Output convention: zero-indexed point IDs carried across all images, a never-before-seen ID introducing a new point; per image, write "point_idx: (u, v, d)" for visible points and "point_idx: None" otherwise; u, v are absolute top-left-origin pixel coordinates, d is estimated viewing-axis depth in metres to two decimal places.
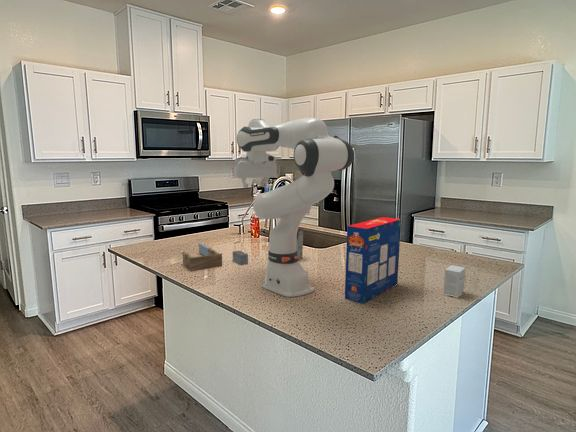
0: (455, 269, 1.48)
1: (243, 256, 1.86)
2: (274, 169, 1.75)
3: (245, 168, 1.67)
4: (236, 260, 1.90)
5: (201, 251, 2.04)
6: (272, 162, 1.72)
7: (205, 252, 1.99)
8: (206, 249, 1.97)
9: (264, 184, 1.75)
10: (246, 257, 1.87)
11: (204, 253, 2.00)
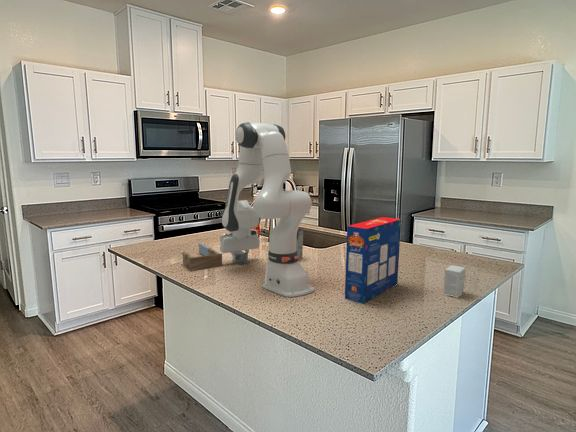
0: (455, 269, 1.48)
1: (243, 256, 1.86)
2: (257, 241, 1.92)
3: (230, 244, 1.85)
4: (236, 260, 1.90)
5: (201, 251, 2.04)
6: (255, 236, 1.90)
7: (205, 252, 1.99)
8: (206, 249, 1.97)
9: None
10: (246, 257, 1.87)
11: (204, 253, 2.00)
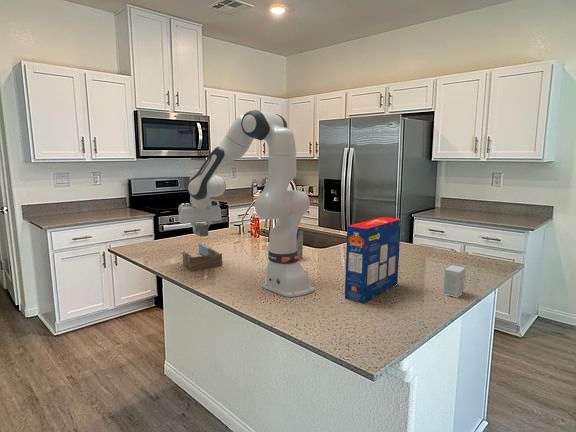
0: (455, 269, 1.48)
1: (203, 227, 1.79)
2: (219, 213, 1.85)
3: (189, 214, 1.77)
4: None
5: (201, 251, 2.04)
6: (216, 207, 1.83)
7: (205, 252, 1.99)
8: (206, 249, 1.97)
9: None
10: (206, 228, 1.80)
11: (204, 253, 2.00)
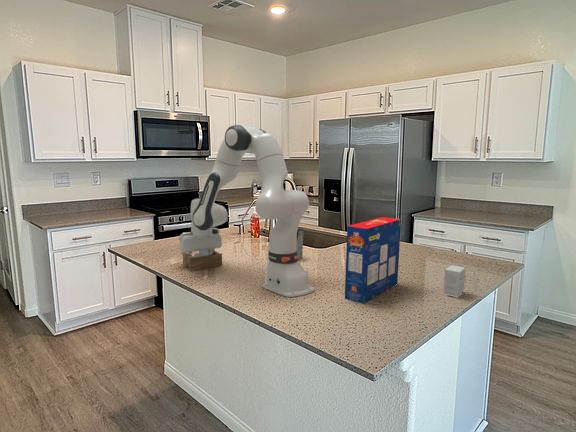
0: (455, 269, 1.48)
1: None
2: (219, 241, 1.87)
3: (190, 243, 1.79)
4: None
5: (201, 251, 2.04)
6: (216, 235, 1.85)
7: (205, 252, 1.99)
8: None
9: None
10: None
11: (204, 253, 2.00)
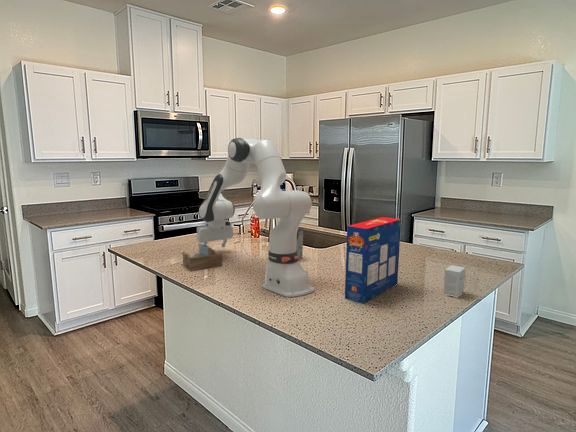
0: (455, 269, 1.48)
1: None
2: (231, 232, 2.08)
3: (206, 234, 1.99)
4: None
5: (201, 251, 2.04)
6: (229, 226, 2.06)
7: (205, 252, 1.99)
8: (206, 249, 1.97)
9: (223, 245, 2.07)
10: None
11: (204, 253, 2.00)
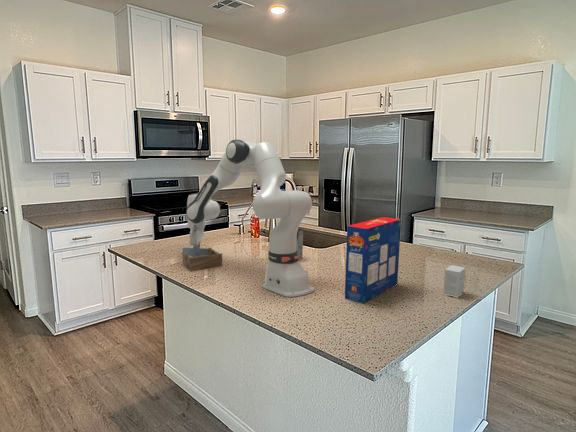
0: (455, 269, 1.48)
1: None
2: (203, 230, 2.08)
3: (197, 235, 1.94)
4: None
5: None
6: None
7: None
8: (203, 250, 1.95)
9: (199, 245, 2.04)
10: None
11: None
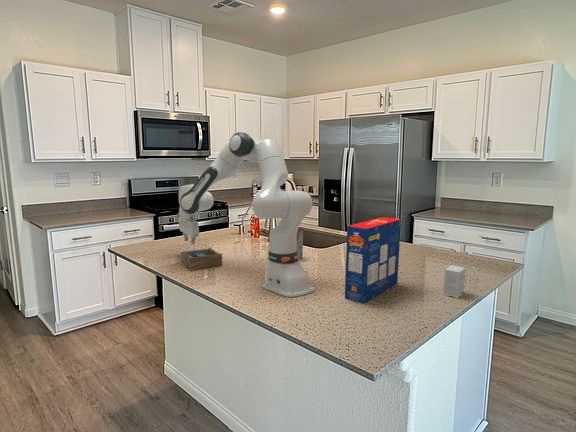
0: (455, 269, 1.48)
1: None
2: None
3: None
4: None
5: None
6: None
7: None
8: (204, 251, 1.93)
9: None
10: None
11: None
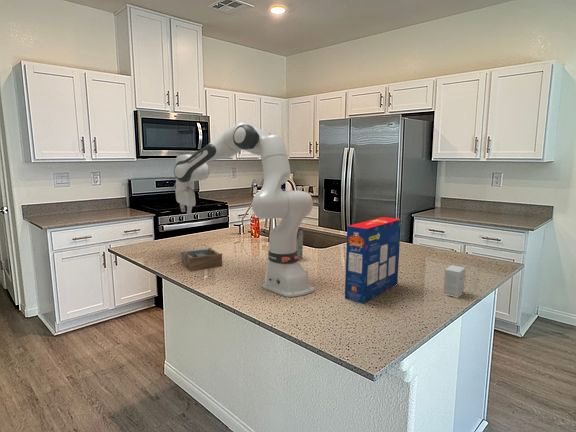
0: (455, 269, 1.48)
1: None
2: None
3: None
4: None
5: None
6: None
7: None
8: (204, 251, 1.93)
9: (184, 209, 2.01)
10: None
11: None
